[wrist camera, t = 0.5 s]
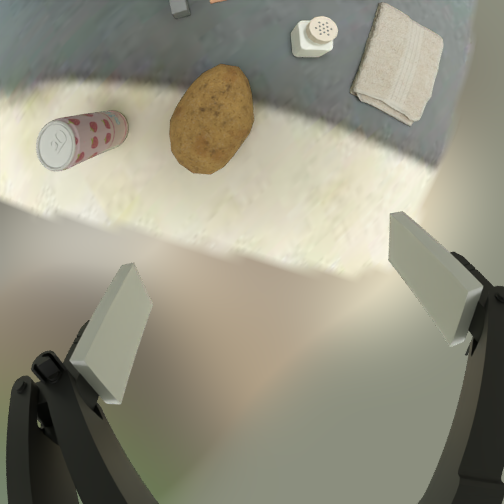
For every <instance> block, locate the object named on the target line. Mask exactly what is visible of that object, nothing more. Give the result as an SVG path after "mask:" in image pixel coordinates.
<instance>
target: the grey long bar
mask: <svg viewBox="0 0 504 504" xmlns="http://www.w3.org/2000/svg"><path fill="white" fill-rule="evenodd" d="M169 2H170V7H171V11H172V14H173V16H174V17H175V18H176V19H178V18H181V17H185V16H188V15H190V11H189V7H188V3H187V0H169Z"/></svg>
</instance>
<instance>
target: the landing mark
mask: <svg viewBox="0 0 504 504" xmlns="http://www.w3.org/2000/svg"><path fill="white" fill-rule="evenodd" d="M221 1H225V0H210V3H211V4H212V3H216V2H221Z"/></svg>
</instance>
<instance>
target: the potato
mask: <svg viewBox="0 0 504 504" xmlns="http://www.w3.org/2000/svg"><path fill="white" fill-rule="evenodd" d="M253 121H254V114H253V102H252V92H251V88H250V85H249V81H248V79H247V77H246V76H245V75H244V73H243V72H242V71H241V69H240V68H239V67H236V66H230V65H225V64H220V65H217V66H216V67H214V68H212V69H210V70H208V71H206V72H204V73H202V74H201V75H200V76H199V77H198V78H197V79H196V80H195V81H194V82H193V83H192V84H191V86H190V87H189V88H188V90H187V91H186V93H185V94H184V96H183V97H182V98H181V100H180V102H179V103H178V105H177V107H176V108H175V111H174V113H173V115H172V118H171V120H170V141H171V151H172V153H173V154H174V156H175V157H176V159H177V161H178V162H179V164H181V165H182V166H184V167H185V168H187V169H188V170H190V171H191V172H193V173H199V174H212V173H214V172H216V171H217V170H219V169H221V168H223V167H224V166H225V165H226V164H227V163H228V162H229V160H230V159H231V158H232V157H233V156H234V154H235V153H236V151H237V150H238V149H239V147H240V146H241V144H242V143H243V142H244V140H245V139H246V137H247V136H248V135H249V133H250V131H251V128H252V124H253Z"/></svg>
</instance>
